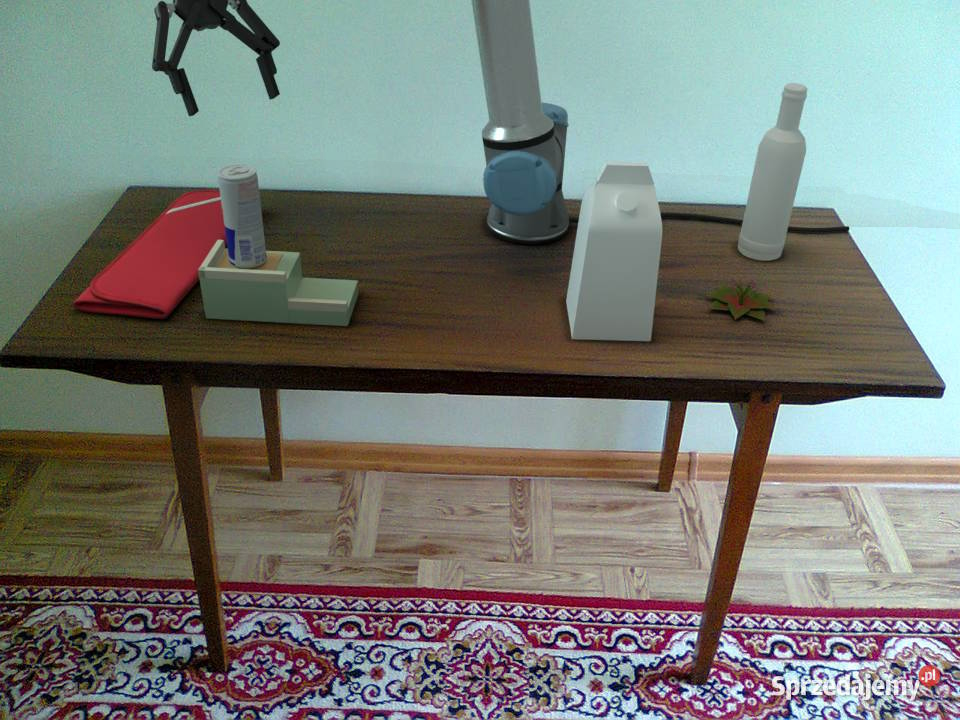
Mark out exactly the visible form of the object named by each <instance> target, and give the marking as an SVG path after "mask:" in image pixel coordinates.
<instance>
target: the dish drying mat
mask: <svg viewBox="0 0 960 720" xmlns="http://www.w3.org/2000/svg"><path fill="white" fill-rule="evenodd" d="M217 240H224V244H225V248H226V247H227V240H226V233H225V225H224V218H223V211H222V204H221V196H220V190H218V189H217V190H216V189H200V190H194V191H193V190H192V191H186V192H184V193H183V194H182V195H180V196H179V197H177V198H176V199H175V200H174V201H173V202H171V203H170V205H169V206H168V207H167V208H166V209H165V210H164V211H163V212H162V213H161V214H160V215H159V216H158V217H157V218H156V219H155V220H154V221H153V222H151V223H150V224H149V225H148V226H147V227H146V228H145V229H144V230H143V232H141V233H140V235H138V236H137V237H136V238H135V239H134V240H133V241H132V242H131V243H130V244H128V245H127V247H125V249H123V251H122V252H120V253H119V255H117V256H116V257H115V258H114V259H113V260H112V261H111V262H110V263H109V264H108V265H106V267H105V268H104V269H102V270H101V271H100V272H98V274H96V276H94V277H93V279H92V280H91V282H90V283H89V286H88V287H87V288H86V289H85V290H84V291H83V292H82V293H81V294H80V295H79V296H78V297H77V298H76V299H75V300H74V302H73V306H74V308H75V309H76V310H78V311H79V312H85V313H91V314H92V313H94V314H95V313H96V314H105V315H116V316H117V315H118V316H126V317H127V316H128V317H138V318H145V319H146V318H147V319H156V320H165V319H167V318H168V317H169V316H170V315H171V313H172V312H174V310H175V309H176V307H177V306H178V305H179V304H180V303H181V302H182V300H183V299H184V298H185V297H186V296H187V294H188V293H189V292H190V291H191V290H192V289H193V287H194V286H195V285H196V284H197V283H198V282H199V281H200V278H199V272H198V269H199V268H200V266H201V265H202V263H203V262H204V260H205V259H206V257H207V255H208V254H209V252H210V251H211V249H212V248H213V246H214V245H215V243H216V242H217Z"/></svg>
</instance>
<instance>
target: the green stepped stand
mask: <svg viewBox="0 0 960 720" xmlns="http://www.w3.org/2000/svg"><path fill="white" fill-rule="evenodd" d="M266 257H267V259H266V261H265V262H264V263H263V264H262V265H260V266H258V267H254V268H248V269H246V268H238V267H235V266H233V265H232V264H231V263H230V261H229V255H228V248H226V247H225V244H224V240H217V242H216V243H215V245H214V246H213V248H212V249H211V251H210V252H209V254H208V255H207V257H206V259H205V260H204V262H203V263H202V265H201V266H200V268H199V269H198V272H199V278H200V279H199V284H200V290H201V298H202V301H203V309H204V315H205V319H212V320H228V321H246V322H261V323H262V322H266V323H279V324H280V323H281V324H282V323H283V324H301V325H318V326H334V327H335V326H337V327H349V324H350V320H351V318H352V315H353V312H354V308H355V305H356V303H357V300H358V298H359V297H358V296H359V295H360V294H359V293H360V292H359V280H356V279H355V280H353V279H339V278H338V279H336V278H321V277H319V278H316V277H303V269H302V259H301V252H299V251H298V252H297V251H296V252H295V251H293V252H292V251H279V250H277V251H276V250H266Z"/></svg>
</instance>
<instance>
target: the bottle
mask: <svg viewBox="0 0 960 720" xmlns="http://www.w3.org/2000/svg"><path fill="white" fill-rule="evenodd" d="M807 92H808V87H807V86H806V85H805V84H803V83H796V82H790V83H786V84H785V85H784V88H783V91H782V93H781V101H780V106H779V110H778V114H777V119H776V123H775V126H773V127H772V128H770V129H769V130H767V131H766V132H765V133H764V135H763V136H762V138H761V141H760V142H759V144H758V147H757V153H756V157H755V162H754V166H753V171H752V176H751V180H750V185H749V190H748V196H747V201H746V205H745V210H744V213H743V219H742V220H743V223H742V225H741V227H740V228H741V229H740V232H739V235H738V239H737V240H738V244H737V250H738V252H740V254H741V255H742V256H744V257H747V258H748V259H751V260H754V261H762V262H770V261H775V260H777V259H779V258H781V256H782V254H783V250H784V247H785V244H786V237H787V233H788V231H787V229H788V226H790V220H791V216H792V212H793V208H794V203H795V199H796V195H797V191H798V187H799V183H800V179H801V175H802V171H803V166H804V162H805V157H806V154H807V143H806V142H807V141H806V137H805V136H804V134H803V133H802V132H801V130H800V129H799V127H800V122H801V118H802V115H803V110H804V106H805V101H806V100H807V97H808V93H807Z"/></svg>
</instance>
